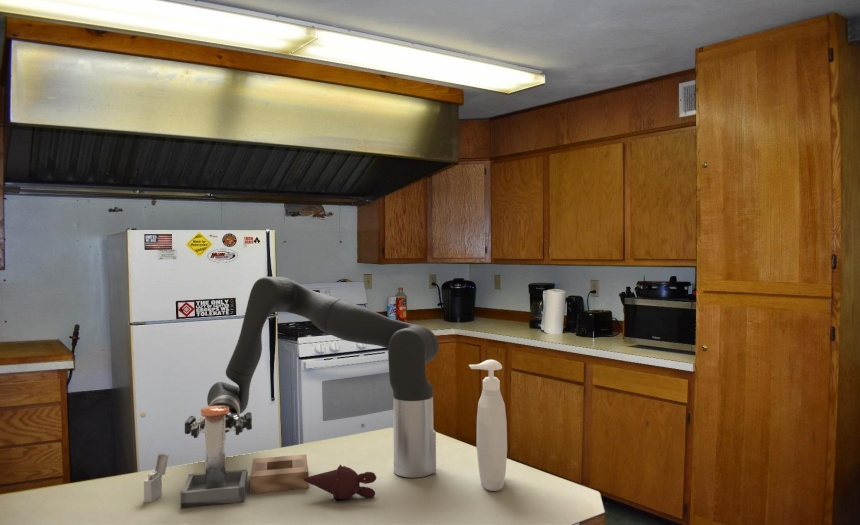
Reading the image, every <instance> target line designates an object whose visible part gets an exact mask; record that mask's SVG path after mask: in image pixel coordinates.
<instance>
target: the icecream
mask: <svg viewBox="0 0 860 525" xmlns="http://www.w3.org/2000/svg"><path fill="white" fill-rule="evenodd" d="M308 476H309V475H308ZM376 480H377V476H376V473H374V472H372V471H365V472H363V473H359V474H358V473H357V472H356V470H354V469H352V468H351V467H348V466H344V465H342V464H339V466H338V467H337V468H336V469H333V470H329V471H325V472H322V473H321V472H320V473H317V474H313V475H310V476H309V477H305V478H304V481H306V482H308V483H309V484H310V485H313V486H315V487H316V488H319V489H320V490H323V491H325V492H327V493H329V494H331V495H333V500H334V501H335V502H336V500H337V499H339V500H345V499H349V498H352V497H354V496H355V495H356V494H357V495H359V496H360V497H362V498H366V499H371V498H375V495H376V491H375V489H373V488H371V487H368V486H361V485H360V483H362V484H364V485H367V484H372V483H375V481H376Z"/></svg>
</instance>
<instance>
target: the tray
mask: <svg viewBox="0 0 860 525" xmlns="http://www.w3.org/2000/svg"><path fill="white" fill-rule="evenodd" d="M247 487H248V469H247V468H246V469H245V468H244V469H234V470H226V487H223V488H212V489H206V474H205V472H200V473H189V474H188V475H187V478H186V480H185V483H184V485H183V487H182V489H181V491H180V509H187V508H198V507H208V506H218V505H227V504H228V505H229V504H238V503H239V504H240V503H244V502H245V499H246V493H247V492H246V491H247Z"/></svg>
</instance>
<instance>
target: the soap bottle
mask: <svg viewBox="0 0 860 525" xmlns="http://www.w3.org/2000/svg"><path fill="white" fill-rule="evenodd" d="M468 367H469V368H470V369H471V370H484V371H488V376H485V377H484V379H482V391H481V395H480V398H479V400H478V403H477V413H476V456H477V465H478V473H479V478H480V482H481V484H482V486H483V488H484V489H486V490H487V491H492V492H495V491H496V492H497V491H500V490H502V488H503V487H504V484H505V480H506V479H505V477H506V472H507V459H508V458H507V457H508V456H507V455H508V432H507V431H508V428H507V427H508V426H507V412H506V404H505V401H504V399H503V396H502V392H501V389H500V388H501V385H500V383H501V382H500V379H499V378H498V377H496V376H494V374H495V372H494V371H499V370H502V369H503V365H502V363H500V362H499V361H497V360H496V359H487V360H484V361H482V362H481V363H478V364H477V363H476V364H468Z"/></svg>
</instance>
